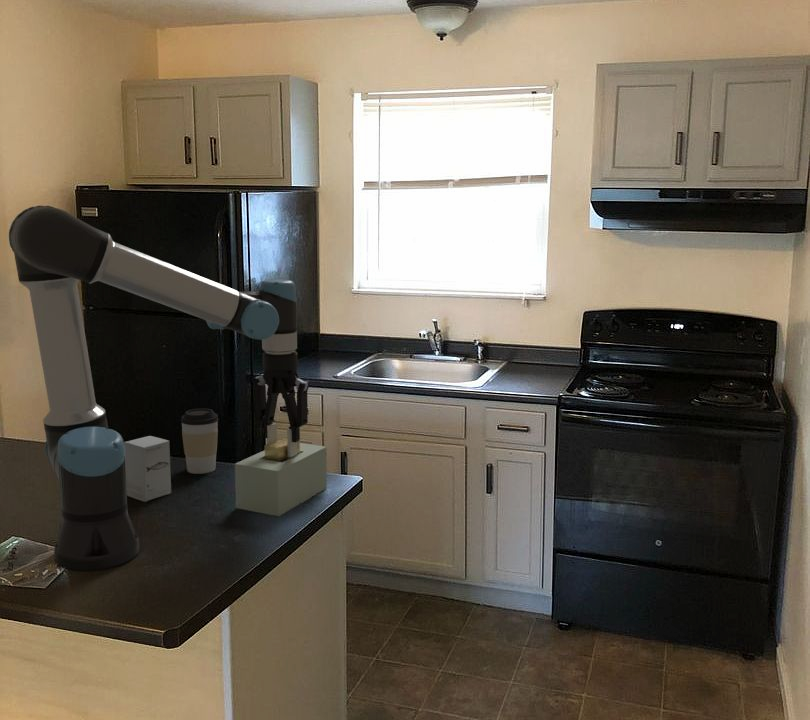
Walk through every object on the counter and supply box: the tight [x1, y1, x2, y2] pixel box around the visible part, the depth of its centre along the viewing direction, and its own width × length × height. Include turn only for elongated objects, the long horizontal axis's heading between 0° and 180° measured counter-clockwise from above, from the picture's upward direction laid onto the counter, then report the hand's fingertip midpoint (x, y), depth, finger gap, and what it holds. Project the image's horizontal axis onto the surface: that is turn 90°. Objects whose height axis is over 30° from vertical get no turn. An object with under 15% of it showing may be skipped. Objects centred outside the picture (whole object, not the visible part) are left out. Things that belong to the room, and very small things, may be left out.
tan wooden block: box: [264, 437, 301, 461], centre depth 196 cm, size 7×4×3 cm, turn 145°
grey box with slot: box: [234, 442, 328, 517], centre depth 197 cm, size 20×11×10 cm, turn 155°
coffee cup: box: [180, 408, 219, 475], centre depth 216 cm, size 9×9×15 cm
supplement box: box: [123, 435, 172, 503], centre depth 198 cm, size 7×7×13 cm
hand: (282, 453), depth 196 cm, fingers closed on tan wooden block, 4 cm apart
